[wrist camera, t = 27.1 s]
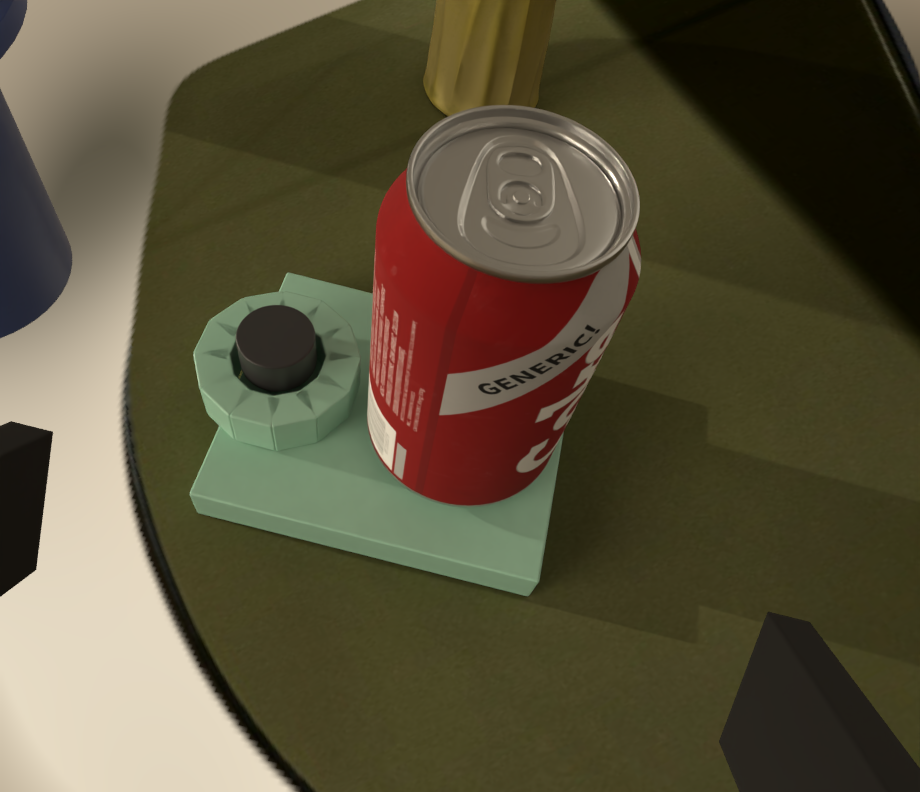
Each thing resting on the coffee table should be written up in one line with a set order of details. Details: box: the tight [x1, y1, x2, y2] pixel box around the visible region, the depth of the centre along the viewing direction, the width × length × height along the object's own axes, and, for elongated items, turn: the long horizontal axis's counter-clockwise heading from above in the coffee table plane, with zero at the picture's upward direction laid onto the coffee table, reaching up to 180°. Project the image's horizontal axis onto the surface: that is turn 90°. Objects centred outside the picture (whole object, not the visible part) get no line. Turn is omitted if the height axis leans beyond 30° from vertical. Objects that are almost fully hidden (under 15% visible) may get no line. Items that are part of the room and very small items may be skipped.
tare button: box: [236, 305, 317, 392], centre depth 26 cm, size 3×3×2 cm
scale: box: [190, 273, 564, 596], centre depth 28 cm, size 13×10×4 cm
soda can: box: [367, 105, 641, 508], centre depth 23 cm, size 7×7×12 cm
